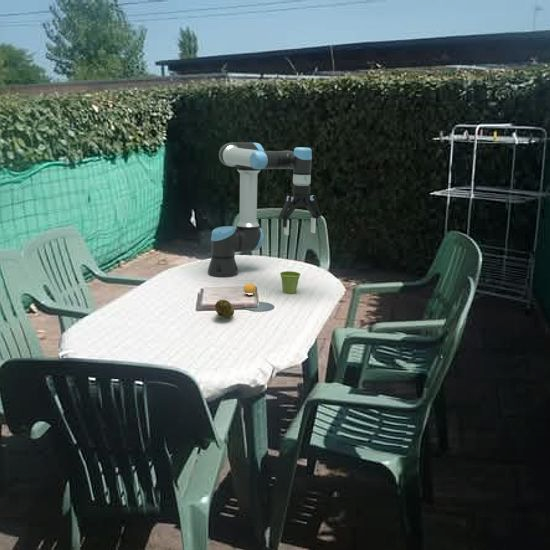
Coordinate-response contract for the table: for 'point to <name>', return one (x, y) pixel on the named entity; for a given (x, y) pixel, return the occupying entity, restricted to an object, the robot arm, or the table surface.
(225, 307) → the potato
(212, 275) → the robot arm
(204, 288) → the table surface
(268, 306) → the disc
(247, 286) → the ball
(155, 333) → the table surface
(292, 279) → the plant pot
